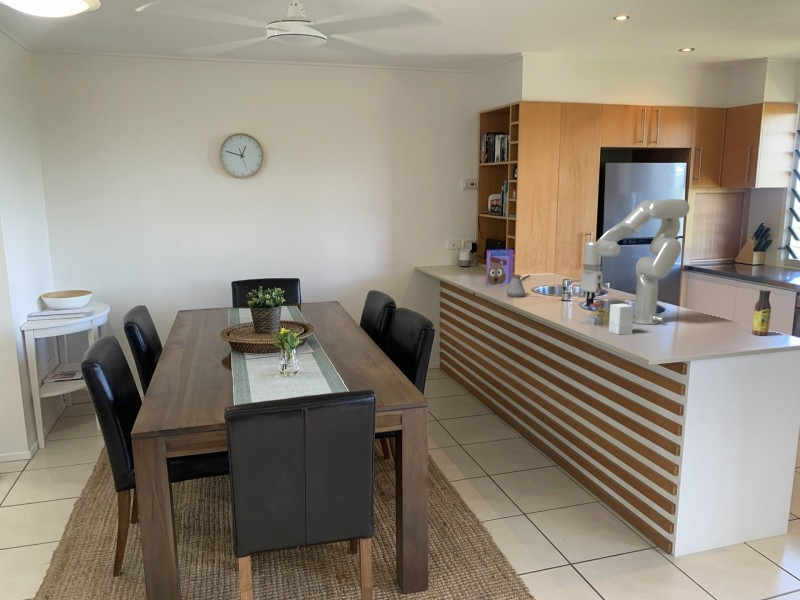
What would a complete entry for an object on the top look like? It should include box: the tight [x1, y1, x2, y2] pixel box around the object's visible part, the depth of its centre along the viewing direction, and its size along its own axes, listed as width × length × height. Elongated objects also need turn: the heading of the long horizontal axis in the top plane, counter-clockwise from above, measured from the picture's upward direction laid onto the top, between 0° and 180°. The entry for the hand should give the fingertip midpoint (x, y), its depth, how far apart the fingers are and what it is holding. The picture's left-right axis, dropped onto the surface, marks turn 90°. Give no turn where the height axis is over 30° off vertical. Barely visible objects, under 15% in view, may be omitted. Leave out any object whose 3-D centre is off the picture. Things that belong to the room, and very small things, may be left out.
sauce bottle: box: [751, 289, 772, 336], centre depth 263 cm, size 7×6×20 cm
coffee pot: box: [505, 274, 533, 298], centre depth 357 cm, size 21×12×15 cm, turn 21°
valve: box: [578, 306, 610, 329], centre depth 289 cm, size 12×19×8 cm, turn 130°
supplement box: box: [608, 303, 635, 336], centre depth 268 cm, size 7×7×13 cm
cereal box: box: [485, 248, 515, 286], centre depth 406 cm, size 17×5×24 cm, turn 104°
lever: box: [589, 299, 607, 308], centre depth 284 cm, size 13×3×3 cm, turn 138°
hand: (589, 306), depth 285 cm, fingers closed
